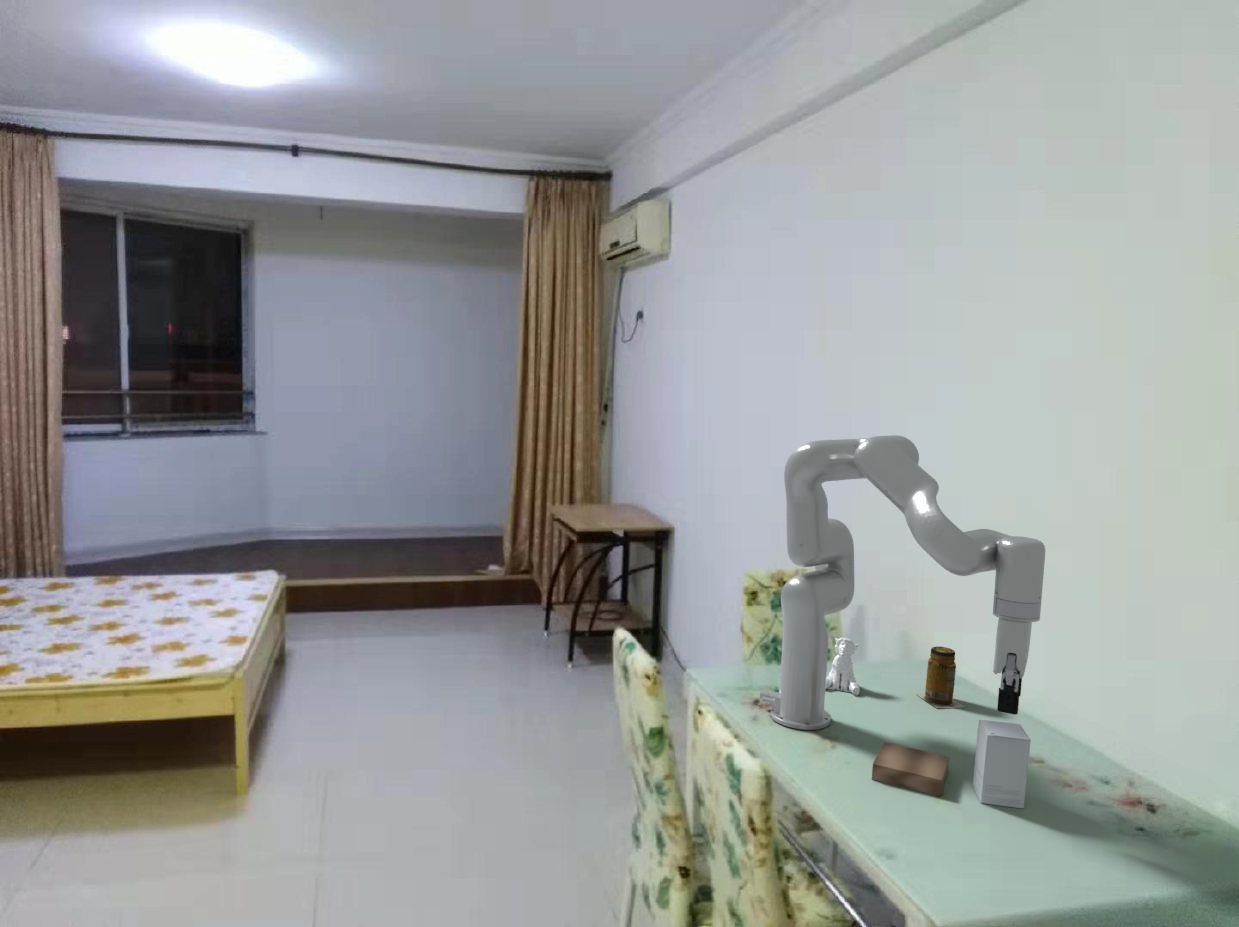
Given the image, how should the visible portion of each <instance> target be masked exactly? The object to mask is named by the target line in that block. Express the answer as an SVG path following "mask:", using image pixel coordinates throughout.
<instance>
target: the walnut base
mask: <svg viewBox="0 0 1239 927" xmlns="http://www.w3.org/2000/svg"><path fill="white" fill-rule="evenodd" d="M949 765H950V756H948V755H942V754H938V753H934V752H930V751H926V750H921V749H916V748H913V747H907V746H904V745H900V744H899V745H898V744H896V743H889V742H883V744H882V745H881V747H880V750H879V751H878V753H877V755H876V757H875V759H874V761H873V763H872V771H871V772H872V773H871V780H872V781H876V782H880V783H884V784H888V785H893V786H897V787H899V788H900V787H901V788H906V789H910V790H913V791H918V792H921V793H926V794H929V795H934V796H938V797H941V796H942V792H943V790H944V786H945V783H946V780H947V777H948V773H949V767H950V766H949Z"/></svg>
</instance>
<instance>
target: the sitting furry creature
mask: <svg viewBox="0 0 1239 927" xmlns="http://www.w3.org/2000/svg"><path fill="white" fill-rule="evenodd" d="M834 641H835V645H834V648H835V653H836V654H837V655H835V657H834V659H833V660H832V665H831V670H830V671H829V673H828V674H827V675H826V686H825V691H826V690H833V691H835V690H836V691H841V692H846V693H851V694H852V695H853V696H855V697H857V696H858V695H859V694H860V692H861V691H860V690H861V687H860V684H858V682H857V680H856V677H855V673H854V670H853V667H854V666H853V661H852V658H851V656H852V655H854V653H855V651H856V650H858V647H859V645H860V643H856V644H855V643H854V641H853V640H852V639H850V638H849V637H839V638H836V637H834Z"/></svg>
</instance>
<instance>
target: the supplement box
mask: <svg viewBox="0 0 1239 927" xmlns="http://www.w3.org/2000/svg"><path fill="white" fill-rule="evenodd" d="M1024 729H1025V728H1023V726H1022V725H1021V724H1020V723H1013V722H1006V721H1005V722H1004V721H994V720H985V719H979V720H978V725H977V734H976V745H975V746H976V747H975V756H974V757H975V758H974V769H973V778H972V787H973V789H974V791H975V793H976V795H977V798H978V799H979V801H980V803H981V804H987V805H994V806H998V807H999V806H1001V807H1005V808H1006V807H1008V808H1016V809H1024V808H1025V801H1026V789H1027V781H1028V780H1027V779H1028V770H1029V759H1030V752H1031V750H1030V748H1031V738H1030V736H1028V734H1027V732H1026V730H1024Z"/></svg>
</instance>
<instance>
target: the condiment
mask: <svg viewBox="0 0 1239 927" xmlns="http://www.w3.org/2000/svg"><path fill="white" fill-rule="evenodd" d="M929 656H930V657H929V658H928V661H927V669H926V679H925V680H926V682H925V691H924V692H925V693H916V696H917V697H919V698H921V699H922V700H924V701H925V702H927V703H928V704H930V705H931V706H932V707H935V708H936V709H957V708H958V709H959V708H960V709H961V708H965V705H964V704H961V703H960V702H958V701H957V700H955V699H953V698H954V691H955V680H956V672H957V671H956V670H957V664H956V662H955V660H956V651H955V650H954V649H952V648H949V647H945V646H933V647H931V648H930V655H929Z"/></svg>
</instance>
